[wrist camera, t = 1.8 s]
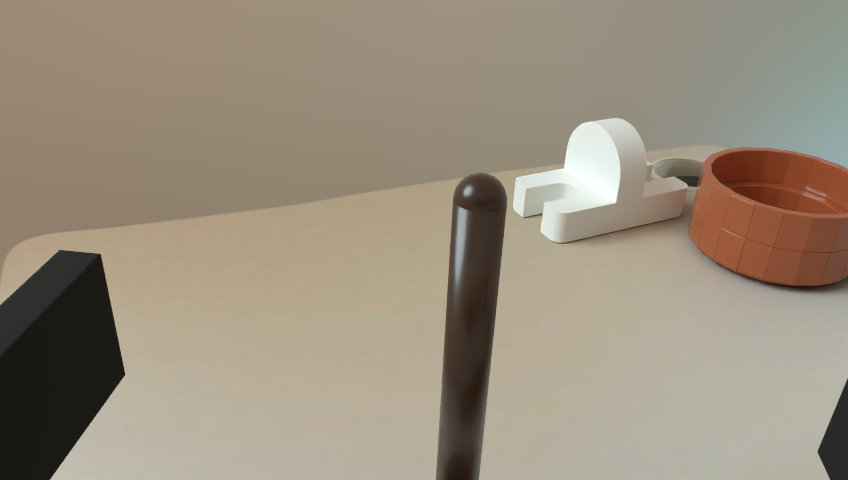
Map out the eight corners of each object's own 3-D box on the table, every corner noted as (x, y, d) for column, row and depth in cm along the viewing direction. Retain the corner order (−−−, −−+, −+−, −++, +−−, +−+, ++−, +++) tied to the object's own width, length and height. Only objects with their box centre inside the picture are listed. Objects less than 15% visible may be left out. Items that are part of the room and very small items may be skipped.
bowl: (837, 227, 62) (861, 160, 59) (868, 306, 52) (899, 230, 49) (686, 204, 64) (701, 138, 61) (687, 274, 54) (706, 200, 51)
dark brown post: (519, 558, 33) (581, 155, 23) (496, 670, 29) (559, 230, 19) (407, 528, 34) (422, 132, 25) (368, 630, 30) (367, 199, 20)
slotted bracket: (631, 181, 68) (647, 99, 64) (685, 215, 62) (706, 127, 59) (508, 206, 63) (518, 118, 59) (556, 244, 57) (569, 150, 53)
